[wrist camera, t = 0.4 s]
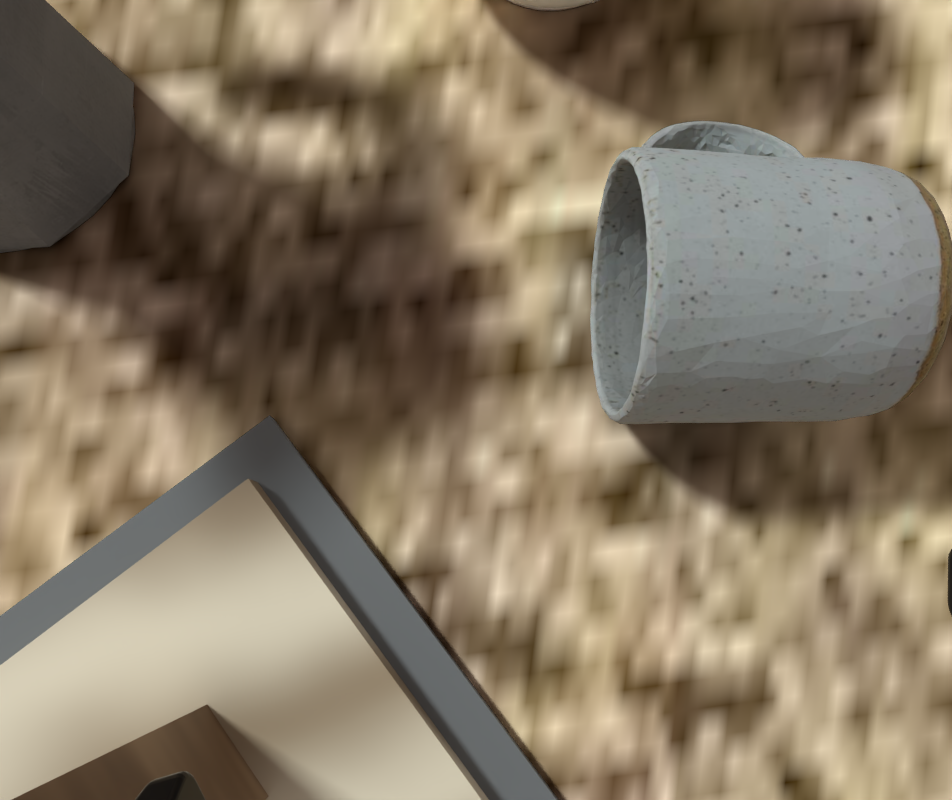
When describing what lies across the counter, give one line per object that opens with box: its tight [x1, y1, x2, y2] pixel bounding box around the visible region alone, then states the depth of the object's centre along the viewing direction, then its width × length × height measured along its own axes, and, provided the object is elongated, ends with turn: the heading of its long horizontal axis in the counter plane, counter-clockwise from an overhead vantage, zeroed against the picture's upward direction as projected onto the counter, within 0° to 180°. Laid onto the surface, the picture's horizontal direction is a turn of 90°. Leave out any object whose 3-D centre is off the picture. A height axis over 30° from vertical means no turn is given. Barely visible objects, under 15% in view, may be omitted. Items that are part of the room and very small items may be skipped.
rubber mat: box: [0, 415, 558, 800], centre depth 22 cm, size 15×15×1 cm
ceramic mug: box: [591, 121, 952, 424], centre depth 22 cm, size 11×8×8 cm
